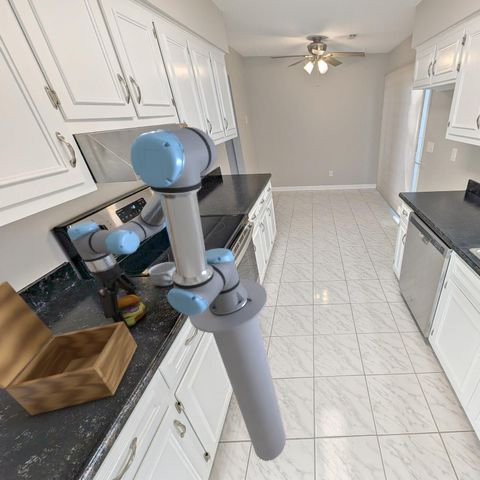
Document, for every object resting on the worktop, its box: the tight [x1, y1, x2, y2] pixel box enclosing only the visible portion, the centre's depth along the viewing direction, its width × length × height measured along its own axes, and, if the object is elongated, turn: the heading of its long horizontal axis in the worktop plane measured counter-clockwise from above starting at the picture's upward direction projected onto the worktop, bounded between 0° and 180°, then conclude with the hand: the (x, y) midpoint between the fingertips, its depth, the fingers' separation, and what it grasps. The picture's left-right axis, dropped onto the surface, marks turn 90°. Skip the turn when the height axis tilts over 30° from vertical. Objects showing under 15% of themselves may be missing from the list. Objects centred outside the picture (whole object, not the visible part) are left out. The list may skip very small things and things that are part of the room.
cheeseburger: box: [117, 294, 146, 327], centre depth 94 cm, size 10×11×10 cm
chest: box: [4, 321, 138, 416], centre depth 72 cm, size 19×17×11 cm
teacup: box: [147, 261, 176, 287], centre depth 113 cm, size 14×11×8 cm
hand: (130, 315), depth 95 cm, fingers closed on cheeseburger, 11 cm apart
